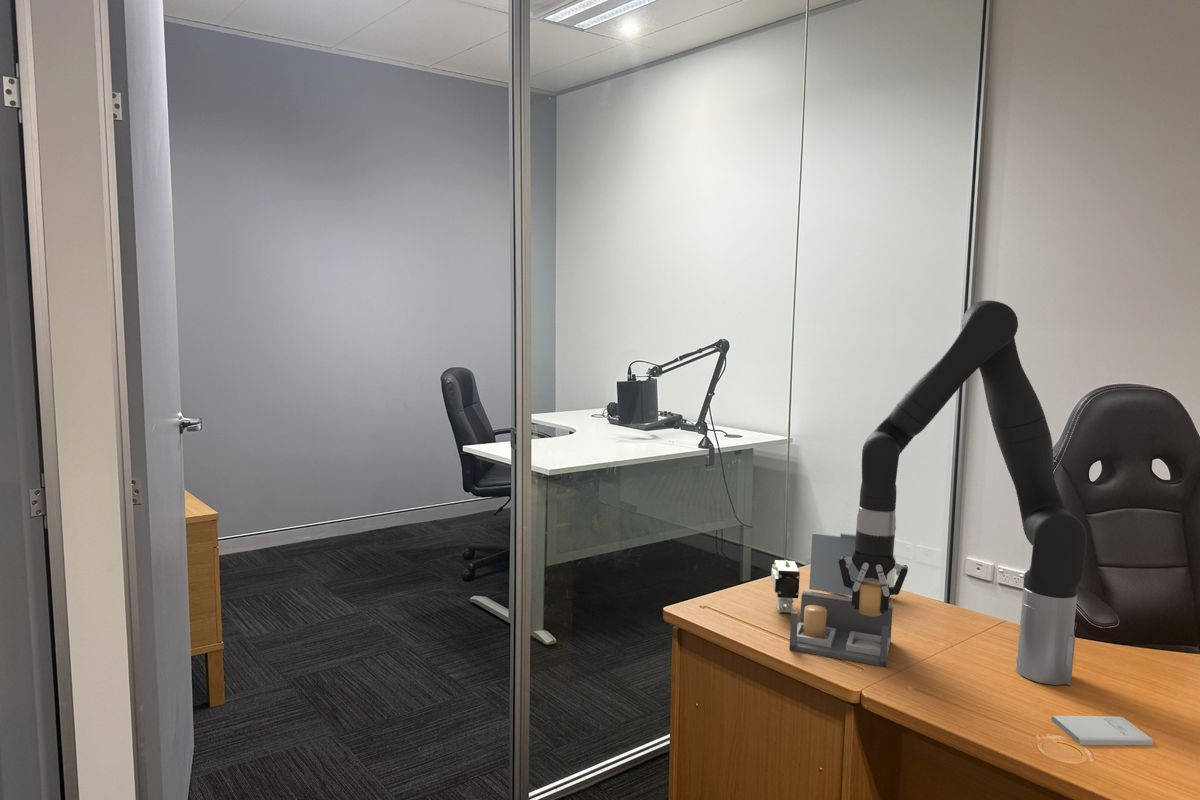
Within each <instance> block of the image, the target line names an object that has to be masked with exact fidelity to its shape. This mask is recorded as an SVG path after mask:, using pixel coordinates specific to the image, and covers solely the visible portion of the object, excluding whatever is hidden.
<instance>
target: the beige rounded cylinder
mask: <svg viewBox="0 0 1200 800" xmlns="http://www.w3.org/2000/svg"><path fill="white" fill-rule="evenodd" d="M882 595H883V590H882V587H881V584H880V583H879V582H875V581H862V583H861V585H860V589H859V605H858V612H859V613H861V614H863V615H866V616H880V615H881V602H882Z"/></svg>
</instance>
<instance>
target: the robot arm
mask: <svg viewBox="0 0 1200 800" xmlns="http://www.w3.org/2000/svg"><path fill="white" fill-rule="evenodd" d="M1018 328H1019V320H1018V317H1017V314H1016V313H1015V311H1014V310H1013V309H1012V308H1011V307H1010V305H1008V304H1005V303H1003V302H1000V301H998V300H997V301H996V300H980V301H977V302H975V303H974V304H972V305H971V306H969V307H968V309H966V311H965V312H964V315H963V317H962V320H961V331H960V333H959V334H958V335H957V337H956V339H955V340H954V342H953V344H951V346H949V348H948V350H947V351H946V352H945V353H944V354H943V356H942V357H941V358H940V359H939V360H938V361H937V362H936V363H935V364H934V365H933V366H932V367H931V368H930V369H929V370H927V371H926V372H925V373H924V374H923V375H922V376H921V377H920V378H919V379H918V380H917V381H916V382H915V383H914V384H913V385H912V386H911V387H910V388H909V390H908V391H907V392H906V393H904V395H903V397H901V399H900V400H899V402H897V404H896V405H895V406H894V407H893V409H892V410H891V412H890V413H889V415H888V416H886V418H885V419H884V420H883V421H882V422H881V423H880V424H879V425H878V426H877V427H876V428H875V429H874V430H873V431H872V432H871V433H870V435H868V437H867V438H866V440H865V442H864V443H863V446H862V449H861V450H862V451H861V484H860V491H859V492H860V493H859V506H858V510H857V516H856V528H855V530H856V531H855V535H856V542H855V553H854V554H853V556H852V557H844V556H841V557H840V559H839V566H840V570H841V575H842V579H843V584H844V586H845V587H848V588H850V589H851V590H852V606H855V609H858V605H859V587H860V585H861V583H862V581H863V578H874V579H877V580H879V581H880V584H881V587H882V590H883V595H882V602H881V613H883V614H884V613H885V611H888V608H889V604H890V597H891V596H893V595H895V596H898V595H899V594H900V592H901V589H902V587H903V584H904V581H905V579H906V577H907V574H908V571H909V567H908V565H907V564H904V565H902V564H900V563H897V562H896V563H895V560H894V557H893V554H894V552H895V551H894V550H895V537H896V536H895V535H896V531H897V529H896V528H897V526H896V524H897V519H896V518H897V517H896V506H897V505H896V504H897V485H896V483H897V476H898V466H899V459H900V455H901V454H902V452H903V451H904V450H905V448H906V447H908V445H909V444H910V442H911V441H912V440H913V439H914V437H916V436H917V435H919V434H920V433H921V432H922V431H923V430H925V428H926V427H927V426H928V425H929V424H930V423H931V422H932V421H933V420H934V418H935V417H936V416H937V415H938V414H939V413H940V412H941V410H942V409H943V408H944V407H945V405H946V404H947V403H948V402H949V401H950V400H951V398H952V397H953V396H954V395H955V394H956V393H957V391H958V390H959V389H960V387H962V386H963V384H964V383H966V381H967V380H968V379H969V378H970V377H971V376H972V375H973V374H974V373H975V372H976V371H977V370H979V372H980V376H981V379H982V383H983V384H982V385H983V387H984V394H985V399H986V403H987V408H988V412H989V415H990V418H991V424H992V428H993V430H994V431H993V432H994V434H995V437H996V440H997V443H998V447H999V449H1000V452H1001V454H1002V457H1003V461H1004V463H1005V466H1006V468H1007V470H1008V473H1009V476H1010V478H1011V481H1012V483H1013V485H1014V488H1015V492H1016V496H1017V501H1018V502H1017V503H1018V506H1019V507H1018V508H1019V512H1020V517H1021V523H1022V529H1023V534H1024V535H1025V537H1026V539H1027V541H1028V542H1029V544H1031V545H1032V552H1031V558H1030V559H1031V561H1030V567H1029V570H1026V571H1025V573H1024V574H1023V575H1024V576H1023V584H1022V585H1023V586H1022V597H1021V598H1022V599H1021V609H1020V620H1019V630H1018V631H1019V634H1018V643H1017V657H1016V672H1017V673H1018V675H1020V676H1021V677H1023V678H1024V677H1025V679H1028V680H1030V681H1033V682H1037V683H1040V684H1045V685H1056V686H1059V685H1069V686H1072V679H1073V670H1074V669H1073V667H1074V665H1073V664H1074V658H1075V657H1074V656H1075V648H1076V647H1075V646H1076V636H1075V632H1074V631H1075V621H1076V613H1077V611H1076V610H1077V609H1076V608H1077V601H1078V600H1077V599H1078V591H1079V586H1080V584H1081V582H1082V581H1083V577H1084V573H1085V572H1084V571H1085V565H1086V564H1085V563H1086V557H1087V547H1088V536H1087V535H1088V534H1087V531H1086V527H1085V526H1084V524H1083V523H1082V521H1080V520H1079V519H1078V518H1077V517H1076V516H1074V515H1073V514H1072V513H1070V512H1069V511H1068V510H1067V508H1066V506H1065V504H1064V501H1063V498H1062V496H1061V495H1060V491H1059V489H1058V487H1057V483H1056V480H1055V475H1054V448H1053V446H1054V445H1053V440H1052V435H1051V432H1050V428H1049V425H1048V422H1047V418H1046V415H1045V412H1044V409H1043V407H1042V404H1041V401H1040V399H1039V397H1038V395H1037V393H1036V391H1035V389H1034V387H1033V385H1032V384H1031V381H1030V380H1029V378H1028V376H1027V374H1026V373H1025V370H1024V368H1023V366H1022V363H1021V361H1020V357H1019V353H1018V348H1017V343H1016V340H1015V336H1016V334H1017V333H1018V332H1017V331H1018ZM851 562H853V563H854V565H855V567H856V568H857V570H858V571H859V573H858V576H857V578H856V580H855V582H853V581H851V579H850V575H849V570H848V568H849V567H850V565H851V564H850V563H851ZM893 568H895V575H896V576H898V577H897V578H896V579H895V580H896V581H895V582H894V587H889V583H888V578H887V574H888V573H889V572H890V571H891V570H892V569H893Z"/></svg>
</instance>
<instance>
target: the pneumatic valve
mask: <svg viewBox="0 0 1200 800" xmlns="http://www.w3.org/2000/svg"><path fill="white" fill-rule="evenodd" d="M773 562H774V563H773V564H772V566H771V569H770V570H771V573H770V582H771V584H772V587H773V589H774V593H776V597H777V604H776V605H775V606H776V609H777V612H778V613H779V614H781V613H789V614H791V613H792V611H794V610H793V603H794V602H795V601H794V599H799V594H800V593H799V591H800V575H801V574H800V570H799V568H798V565H797V563H796V561H795V560H794V559H793V560H791V559H774V561H773Z"/></svg>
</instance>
